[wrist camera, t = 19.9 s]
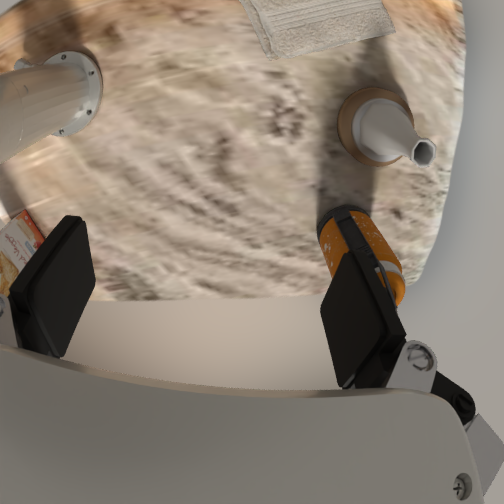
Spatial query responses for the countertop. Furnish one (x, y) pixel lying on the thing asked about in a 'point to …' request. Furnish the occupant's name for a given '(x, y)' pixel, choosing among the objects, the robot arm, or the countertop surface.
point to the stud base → (348, 115)
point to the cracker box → (17, 248)
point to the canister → (360, 247)
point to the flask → (394, 135)
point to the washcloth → (314, 24)
